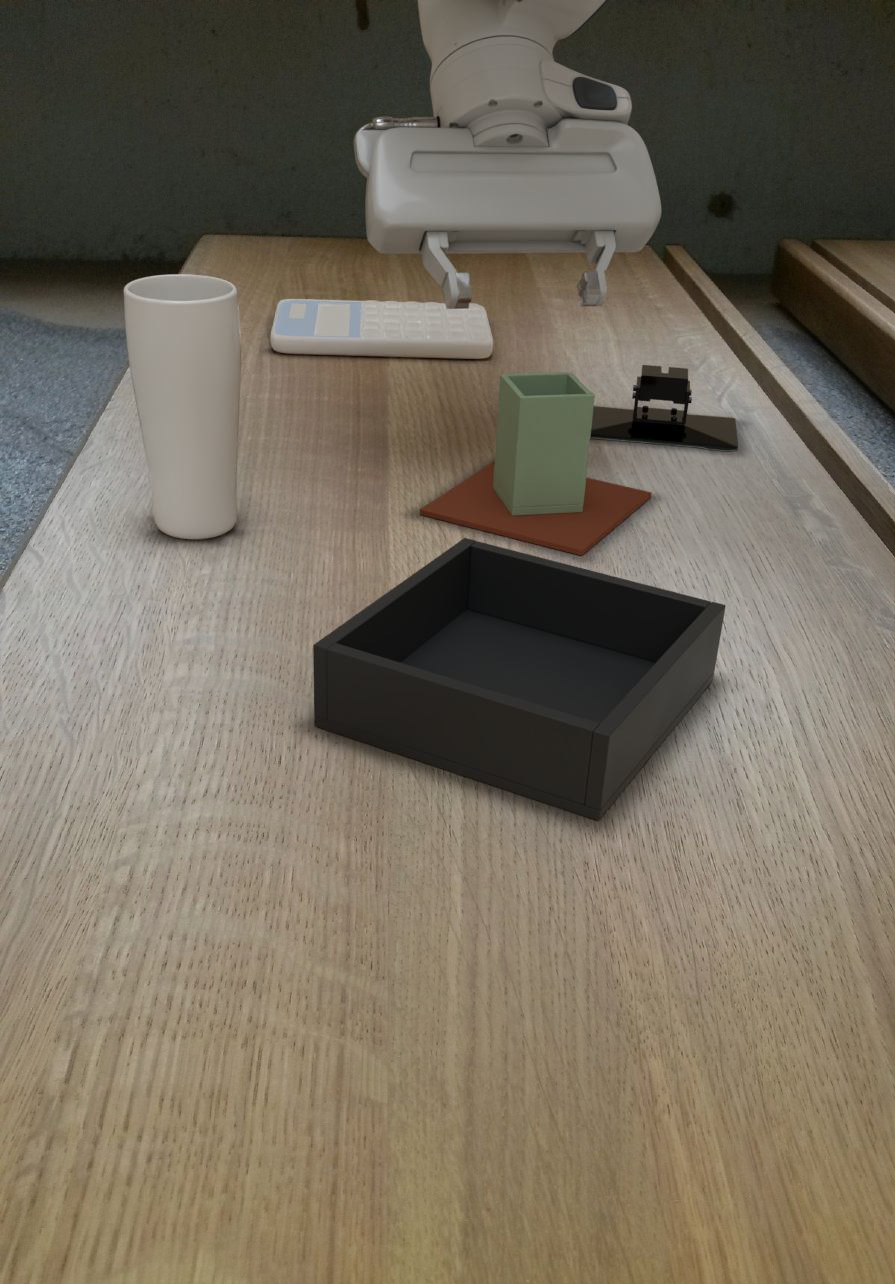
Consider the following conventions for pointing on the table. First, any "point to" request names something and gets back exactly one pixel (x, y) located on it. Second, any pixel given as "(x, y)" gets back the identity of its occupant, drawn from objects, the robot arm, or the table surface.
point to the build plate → (664, 416)
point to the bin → (519, 673)
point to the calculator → (381, 329)
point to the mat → (560, 531)
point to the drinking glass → (187, 397)
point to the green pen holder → (542, 442)
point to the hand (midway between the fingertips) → (527, 303)
